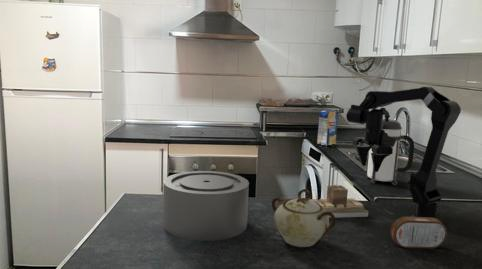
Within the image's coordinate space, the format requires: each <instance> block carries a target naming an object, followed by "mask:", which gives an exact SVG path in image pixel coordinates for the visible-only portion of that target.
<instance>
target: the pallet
mask: <svg viewBox="0 0 482 269" xmlns="http://www.w3.org/2000/svg"><path fill="white" fill-rule="evenodd" d="M326 199H327V198H319V200H318V198H314V199H313V198H312V199H311V198H310V200H311V201H313V202H316V203H318V204H320V205H321V206H322V207H323V209H324V210H325V211H360V210H365V206H364V204H362V203H361V202H359V201H358V199H357V200H356V199H355V198H348V197H347V204H339V205H332V204H331V203H330V202H328V201H327V200H326Z"/></svg>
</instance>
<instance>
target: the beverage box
mask: <svg viewBox="0 0 482 269" xmlns="http://www.w3.org/2000/svg"><path fill="white" fill-rule="evenodd" d="M318 114H319V115H318V128H317V140H316V142H317V143H316V145H317V144H321V145H326V146H327V145H332V144H337V131H338V120H339V119H338V118H339V111H337V110H321V111H319V113H318Z"/></svg>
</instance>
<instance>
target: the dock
mask: <svg viewBox="0 0 482 269" xmlns="http://www.w3.org/2000/svg"><path fill="white" fill-rule="evenodd" d="M329 212H332V213H333V215H334V216H335V219H336V218H366V217H369V210H366V209H364V210H360V211H329ZM328 217H329V219H330V218H331V217H330V216H329V215H328ZM331 219H332V218H331Z"/></svg>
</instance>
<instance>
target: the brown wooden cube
mask: <svg viewBox="0 0 482 269" xmlns="http://www.w3.org/2000/svg"><path fill="white" fill-rule="evenodd" d="M326 187H327V188H326V189H327V190H326V198H325V199H326V200H327V201H328V202H330V203H331V204H332V205H339V204H347V198H348V194H349V193H348V192H349V190H348V188H346V187H345V186H343V185H338V184H337V185H336V184H333V185H327V186H326Z"/></svg>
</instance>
